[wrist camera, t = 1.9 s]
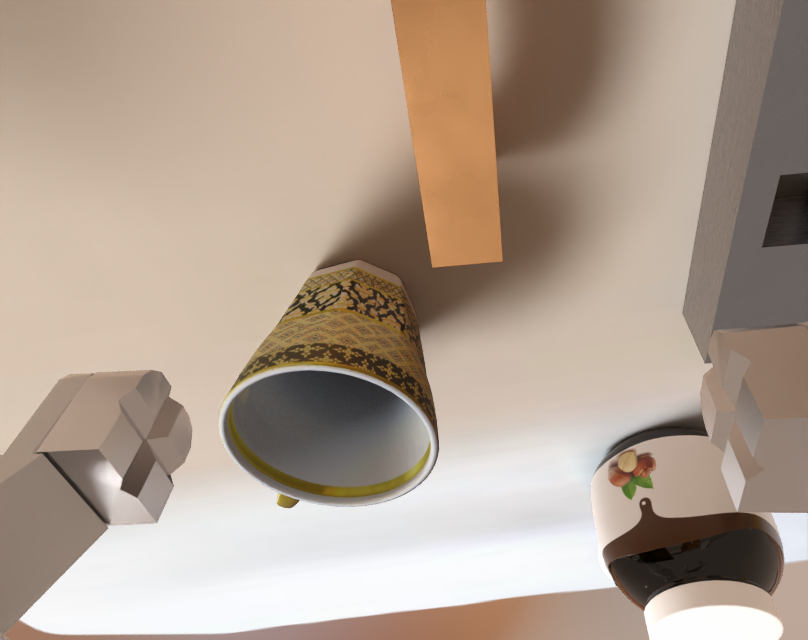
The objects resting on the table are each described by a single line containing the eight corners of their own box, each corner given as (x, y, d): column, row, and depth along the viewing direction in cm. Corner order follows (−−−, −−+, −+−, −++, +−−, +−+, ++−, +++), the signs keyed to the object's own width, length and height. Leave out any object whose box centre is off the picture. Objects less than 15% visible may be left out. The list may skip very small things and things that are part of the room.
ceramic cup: (304, 203, 31) (252, 331, 23) (475, 278, 33) (480, 418, 25) (238, 363, 39) (183, 499, 31) (380, 415, 41) (361, 554, 33)
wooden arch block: (495, 179, 29) (502, 261, 24) (437, 185, 30) (432, 267, 24) (472, -161, 21) (476, -153, 16) (393, -146, 21) (370, -132, 16)
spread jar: (719, 402, 38) (799, 583, 29) (766, 495, 43) (845, 671, 34) (543, 459, 43) (565, 629, 34) (606, 536, 48) (639, 699, 39)
